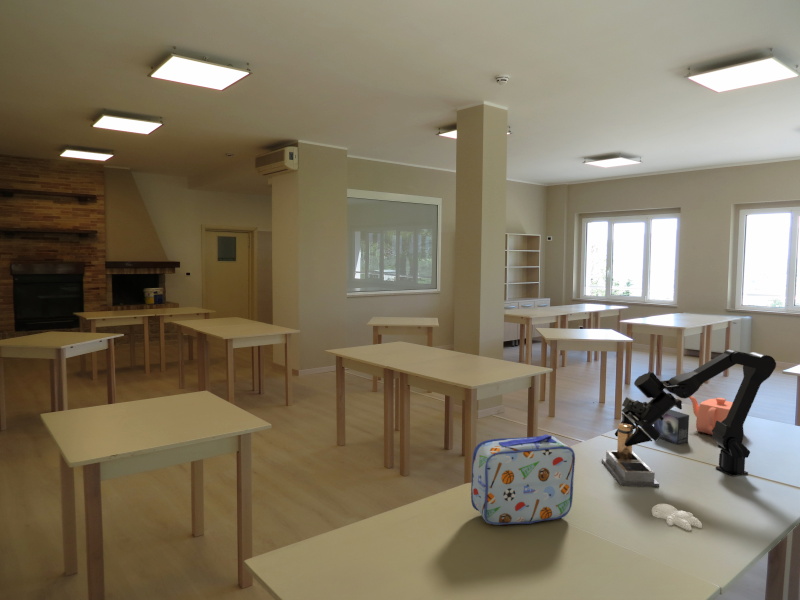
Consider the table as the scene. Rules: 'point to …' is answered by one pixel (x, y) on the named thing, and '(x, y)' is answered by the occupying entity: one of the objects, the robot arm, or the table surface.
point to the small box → (673, 427)
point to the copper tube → (623, 436)
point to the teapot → (710, 413)
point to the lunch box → (522, 479)
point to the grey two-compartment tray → (630, 470)
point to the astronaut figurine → (675, 516)
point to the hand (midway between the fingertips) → (620, 440)
